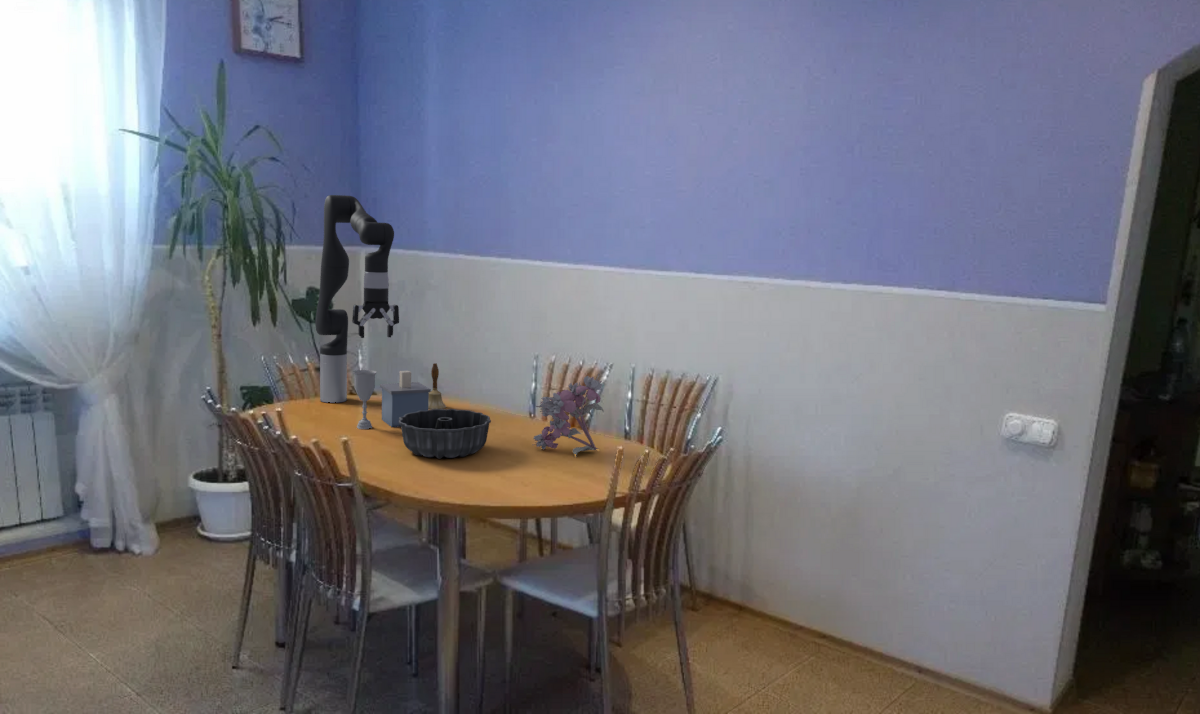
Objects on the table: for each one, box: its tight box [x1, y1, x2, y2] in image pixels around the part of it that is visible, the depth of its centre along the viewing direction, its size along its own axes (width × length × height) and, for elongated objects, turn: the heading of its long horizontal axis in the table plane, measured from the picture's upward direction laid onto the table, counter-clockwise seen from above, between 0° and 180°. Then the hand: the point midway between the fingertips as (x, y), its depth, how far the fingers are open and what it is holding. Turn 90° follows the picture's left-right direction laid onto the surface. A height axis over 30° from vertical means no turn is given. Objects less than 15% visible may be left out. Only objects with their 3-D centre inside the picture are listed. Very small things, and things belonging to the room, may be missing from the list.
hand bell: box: [428, 363, 447, 410], centre depth 307 cm, size 8×8×16 cm
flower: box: [531, 373, 605, 456], centre depth 254 cm, size 20×22×25 cm
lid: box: [379, 370, 432, 394], centre depth 281 cm, size 13×13×7 cm
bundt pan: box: [399, 408, 492, 460], centre depth 249 cm, size 26×26×10 cm
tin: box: [381, 388, 429, 428], centre depth 282 cm, size 12×12×11 cm
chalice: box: [352, 369, 377, 430], centre depth 272 cm, size 7×7×18 cm
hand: (375, 337), depth 272 cm, fingers open, 8 cm apart
